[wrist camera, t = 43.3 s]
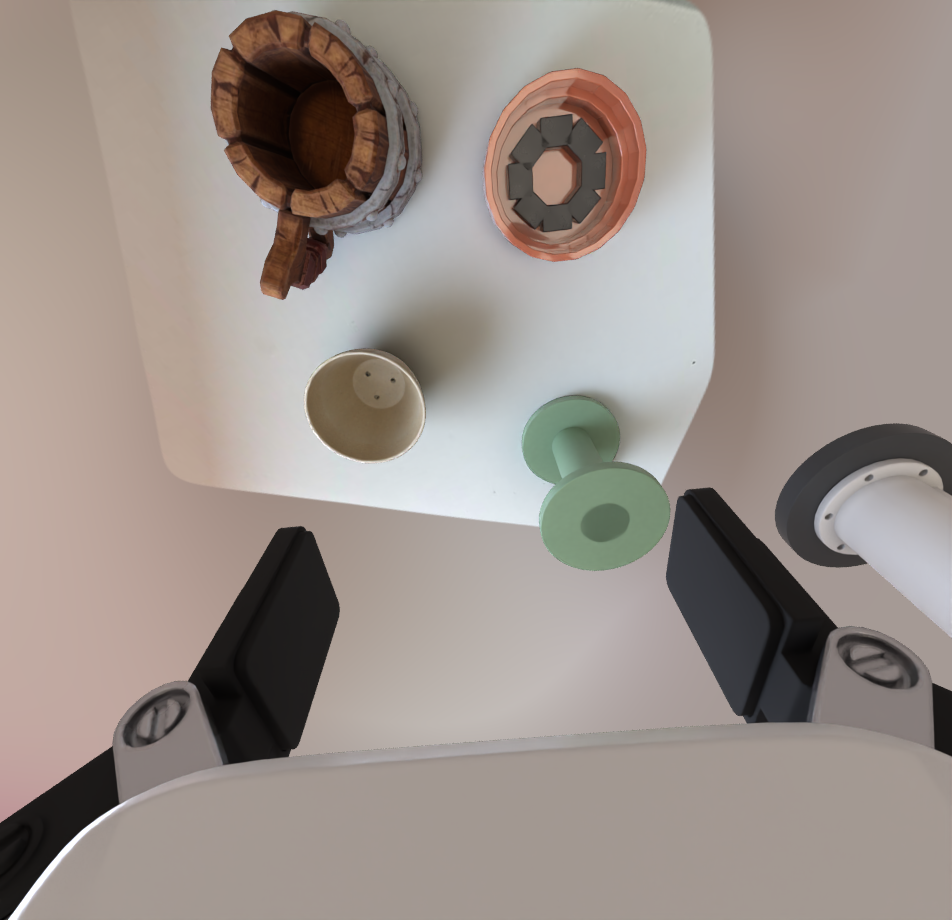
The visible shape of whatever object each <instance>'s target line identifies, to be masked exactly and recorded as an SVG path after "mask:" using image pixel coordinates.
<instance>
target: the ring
mask: <svg viewBox="0 0 952 920" xmlns="http://www.w3.org/2000/svg"><path fill="white" fill-rule="evenodd" d="M602 144H603V141H602V140H601V139H600V138H599V137H598V136H597V134H596V133H595V132H594V131H593V130H592V129H591V128H590V126H589V125H588V124H587V123H586V122H585V121H584V120H583V119H582V118H580V119H578V120H577V121H576V122H575V123H574V124H573V114H567V115H559V116H551V117H544V118H540V119H539V120H538V122H537V128H536V127H535V126H534V125H533V124H531V125H530V126H529V128H528V129H527V130H526V132H525V133H524V135H523V136H522V138H521V139H520V140H519V142H518V143H517V145H516V146H515V148H514V149H513V150H512V152H511V153H510V155H509V157H510V158H511V159H512V160H513V161H514V162H515V163H511V164H508V165H507V166H506V176H507V193H508V200H516V199H518V200H517V202H516V203H515V204H514V206H513V207H512V210H513V211H515V212H516V213H517V214H518V215H519V216H520V217H521V218H522V219H523V220H524V221H525V222H526V223H527V224H528V225H529V226H530V227H531V228H532V229H536V228H537V227H538V226H539V225H540V231H541V232H552V231H560V230H569V229H572V221H573V222H574V223H576V224H581V223H582V221H583V220H584V219H585V218H586V216H587V215H588V214H589V213H590V212H591V210H592V209H593V208H594V207H595V205H596V204H597V203H598V202H599V201H600V199H601V197H600V196H599V195H598V194H597V193H596V192H595V191H594V190H599V189H605V179H606V152H600V153H596V151H597V150H598V149H599V147H600V146H601V145H602ZM561 148H563V149H564V150H565V151H566V152H567V153H568V155H569V156H570V157H571V158H572V159H573V160H574V161H575V162H576V163H577V181H576V187H575V189H574V190H573V191H572V193H571V194H570V195H569V196H568V198H567V199H566V200H565V201H564V203H561V204H553V205H546V204H545V203H544V202H543V201H542V200H541V199H540V198H539V197H538V196H537V195H536V194H535V193H534V192H533V172H532V167H533V166H534V165H535V163H536V162H537V160H538V159H539V158H540V156H541V155H542V154H543V152H544V151H545V150H553V149H561Z"/></svg>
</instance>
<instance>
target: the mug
mask: <svg viewBox="0 0 952 920" xmlns="http://www.w3.org/2000/svg"><path fill="white" fill-rule="evenodd" d="M229 37H230V40H231V42H232V45H233V48H232V50H228V49H225V48H221V50H220V52H219V55H218V57H217V60H216V62H215V65H214V68H213V70H212V84H211V111H212V114H213V118H214V122H215V126H216V130H217V134H218V136H219V137H221V138H223V139H225V141H226V143H227V144H228V146H227V147H226V148H225V150H224V151H225V153H226V155H227V157H228V159H229V160H230V162H231V164H232V166H233V168H234V169H235V171H236V173H237V175H238V176H239V177H240V178H241V179H242V180H243V181H244V182H245V183H246V184H247V185H248V186H249V187H250V188H251V189H252V190H253V191H254V192H255V193H256V194H257V195H258V196H259V197H260V198H261V202H262V204H263V205H264V206H265V207H266V208H272V209H273V210H274V211H276V212H278V220H277V228H276V233H275V238H274V243H273V245H272V247H271V249H270V251H269V254H268V256H267V258H266V260H265V264H264V268H263V272H262V276H261V280H260V286H261V291H262V293H263V294H265V295H268V296H272V297H275V298H278V299H282V300H284V299H286V296H287V294H288V291H289V289H290V286H294V287H297V288H300V289H302V290H303V289H306V288H309V286H310V284H311V283H313V282H315V280H316V279H317V277H318V275H319V274H321V273H322V272H323V271H324V269H325V268H326V267H327V266H326V260H327V259H328V258H330V257H331V256H332V252H333V248H334V239H333V231H334V232H335V234H336V235H337V236H338V237H344V236H345V235H346V233H352V234H359V233H363V232H368V231H372V230H376V229H380V228H382V227H383V226H386V227H390V226H392V224H393V222H394V220H393V219H394V218H395V217H397V216H398V215H399V214H401V212H402V210H403V209H404V207H405V206H406V204H407V202H408V201H409V199H410V198H411V196H412V194H413V193H414V191H415V189H416V184H417V182H419V181H420V180H421V179H422V172H421V170H420V167H421V162H422V153H421V139H420V127H419V124H418V121H417V118H416V116H417V114H418V108H417V106H416V104H415V103H413V102H410V99H409V97H408V94H407V93H406V91H405V90H404V89H403V87H402V86H401V84H400V83H399V82H398V80H397V79H396V78H395V76H394V75H393V74H392V72H391V71H390V70H389V68H388V67H387V66H386V65H385V64H384V63H383V62H382V61H380V60H379V59H378V55H377V52H376V50H375V49H374V48H373V47H371V46H368V47H365V46H364V45H363V44H362V43H361V42H360V41H359V40H357V39H356V38H354V37H353V36H351V32H350V28H349V26H348V25H347V23H346V22H344V21H342V20H337V21H336V22H335V23H332V22H331V21H329V20H328V19H327V18H322V17H317V16H312V15H307V14H302V13H298V12H293V11H292V12H288V13H286V12H281V11H277V10H272V11H271V12H268V13H265V14H261V15H258V16H254V17H251V18H247V19H245V20H244V21H243V22H242V23H241V24H240V25H239V26H238V27H237V28H236V29H235V30H234V31H233V32H232V33H231V34H230V35H229ZM308 232H309V236H310V237H309V238H307V237H308Z"/></svg>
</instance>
